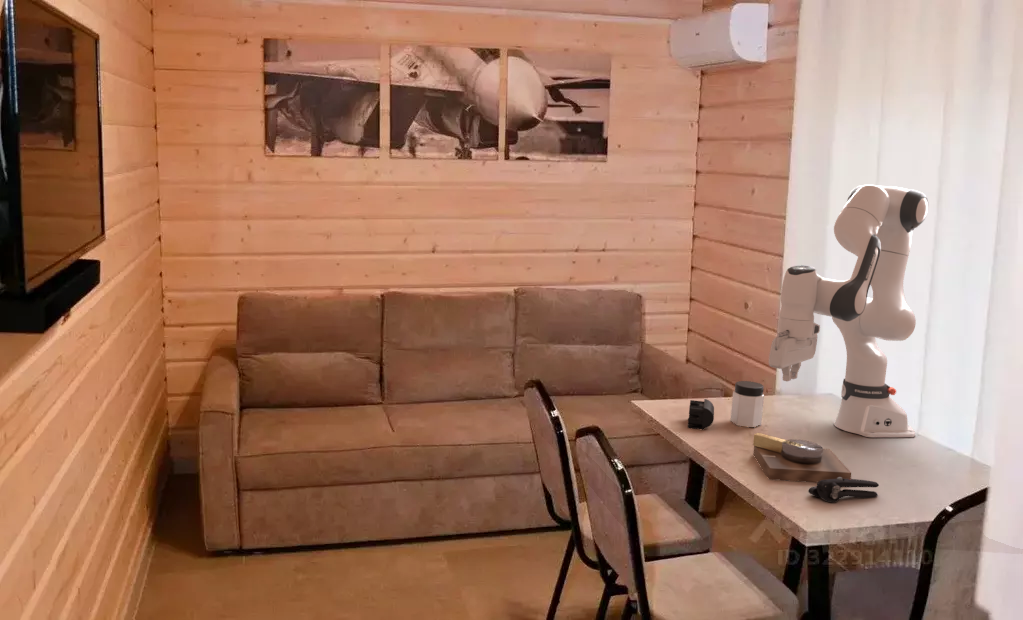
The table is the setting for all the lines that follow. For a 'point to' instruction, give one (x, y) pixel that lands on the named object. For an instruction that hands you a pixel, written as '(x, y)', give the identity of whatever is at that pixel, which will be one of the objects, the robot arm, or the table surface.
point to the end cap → (700, 414)
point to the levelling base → (800, 467)
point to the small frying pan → (790, 448)
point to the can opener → (833, 492)
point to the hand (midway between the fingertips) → (789, 379)
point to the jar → (747, 404)
